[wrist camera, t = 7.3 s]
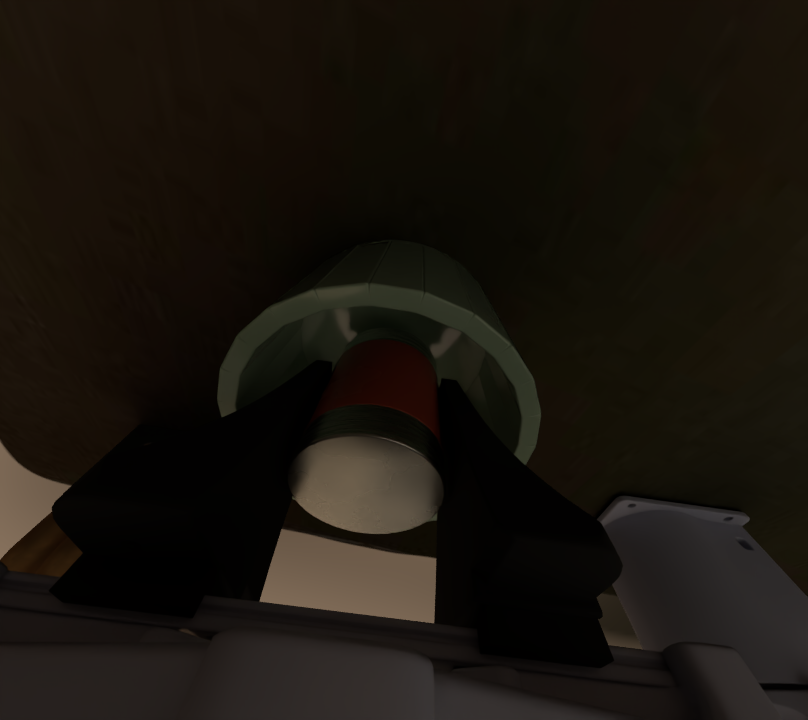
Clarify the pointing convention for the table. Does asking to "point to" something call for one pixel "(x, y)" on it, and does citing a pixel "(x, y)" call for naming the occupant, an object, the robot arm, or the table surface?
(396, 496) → the tin can
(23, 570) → the ammunition clip
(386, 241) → the cup
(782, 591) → the robot arm
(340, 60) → the table surface
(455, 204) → the table surface
